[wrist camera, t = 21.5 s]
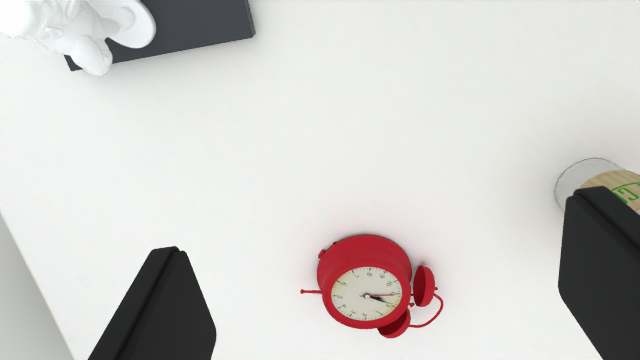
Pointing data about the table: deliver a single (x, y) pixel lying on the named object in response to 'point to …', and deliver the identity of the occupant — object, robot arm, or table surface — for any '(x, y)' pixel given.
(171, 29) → the scale
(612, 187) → the coffee cup
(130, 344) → the robot arm
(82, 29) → the figurine
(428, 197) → the table surface
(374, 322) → the alarm clock
